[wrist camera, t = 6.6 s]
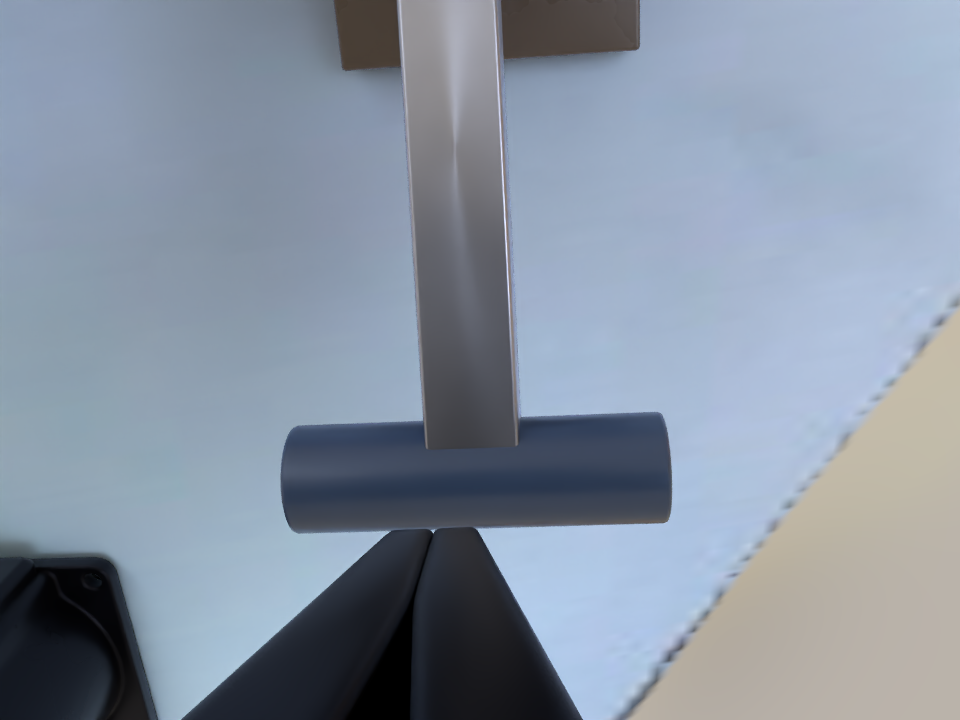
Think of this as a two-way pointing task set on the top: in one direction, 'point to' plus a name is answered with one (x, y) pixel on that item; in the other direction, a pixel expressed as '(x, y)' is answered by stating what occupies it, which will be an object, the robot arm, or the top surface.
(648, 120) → the top surface
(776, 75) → the top surface
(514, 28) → the front lever stand
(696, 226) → the top surface
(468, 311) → the handle
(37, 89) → the top surface
